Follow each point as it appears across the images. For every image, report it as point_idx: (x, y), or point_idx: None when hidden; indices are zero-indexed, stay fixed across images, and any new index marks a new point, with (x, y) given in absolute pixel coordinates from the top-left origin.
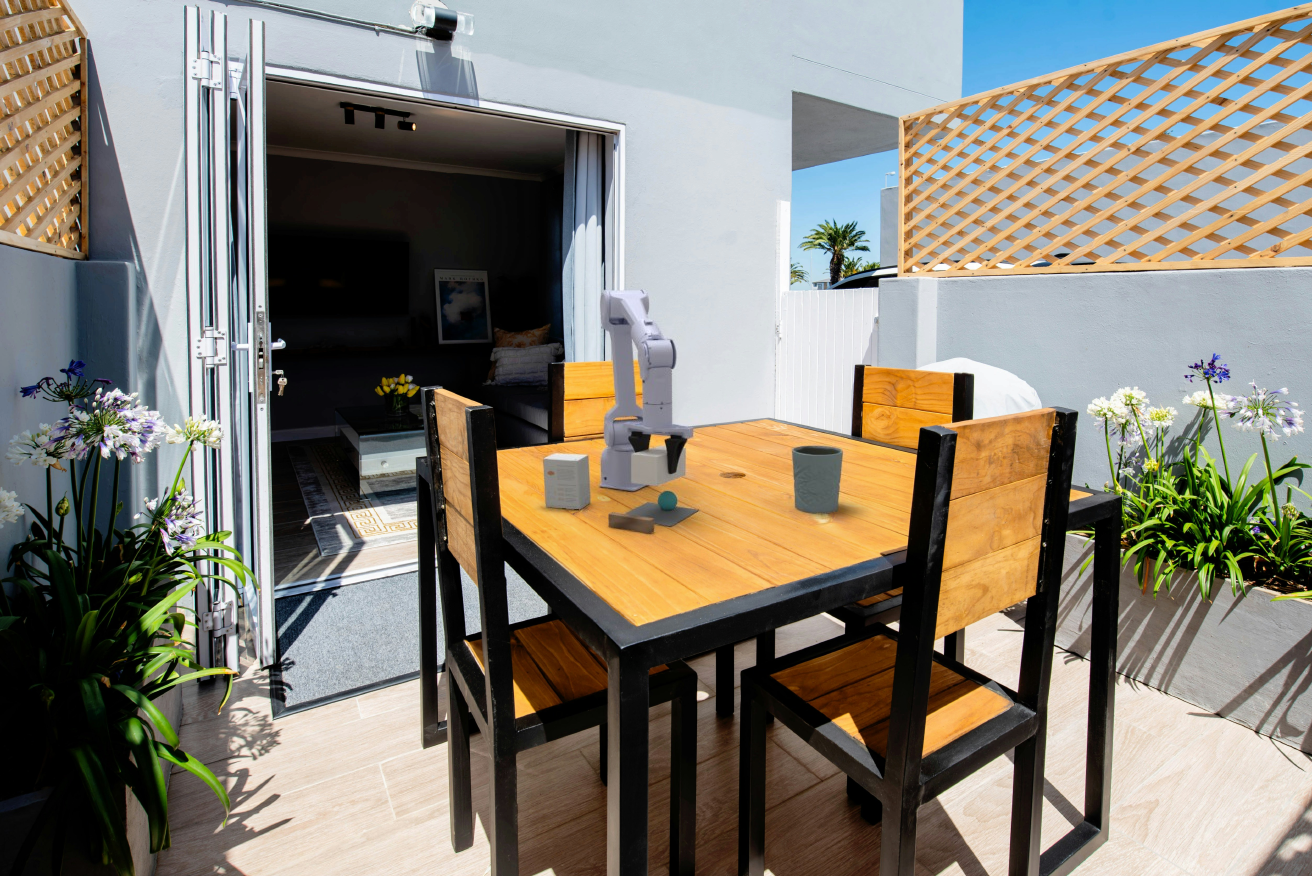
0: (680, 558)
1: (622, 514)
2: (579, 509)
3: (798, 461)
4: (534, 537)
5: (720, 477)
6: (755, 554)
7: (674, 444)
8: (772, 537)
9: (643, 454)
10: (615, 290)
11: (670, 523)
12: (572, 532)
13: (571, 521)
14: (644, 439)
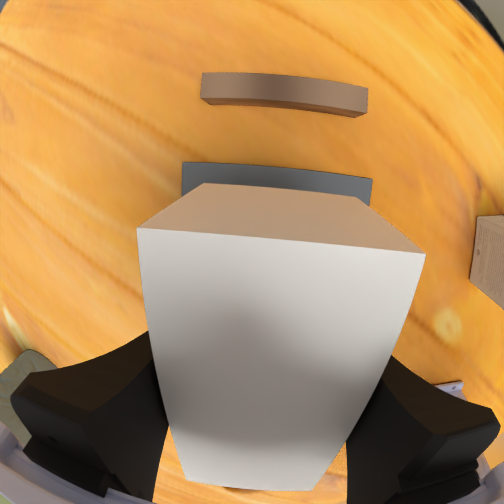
0: (93, 6)
1: (322, 96)
2: (478, 216)
3: (3, 413)
4: (452, 4)
5: None
6: (4, 109)
7: (31, 374)
8: (7, 205)
9: (315, 284)
10: None
11: (193, 182)
12: (411, 37)
13: (459, 119)
14: (375, 477)
